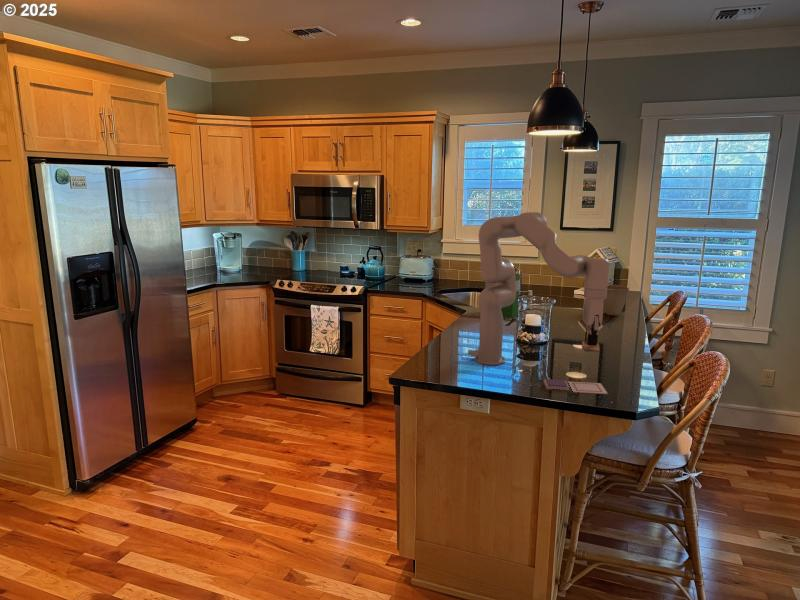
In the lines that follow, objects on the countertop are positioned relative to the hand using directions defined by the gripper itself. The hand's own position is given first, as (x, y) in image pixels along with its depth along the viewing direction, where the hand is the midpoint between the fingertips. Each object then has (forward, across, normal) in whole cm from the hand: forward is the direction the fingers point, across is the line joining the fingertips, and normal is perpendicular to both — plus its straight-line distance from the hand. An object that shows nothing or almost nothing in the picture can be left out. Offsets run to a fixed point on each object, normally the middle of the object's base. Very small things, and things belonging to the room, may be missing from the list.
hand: (590, 343), depth 189 cm
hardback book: (+17, -111, -24) cm, 115 cm away
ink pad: (+17, 0, -11) cm, 20 cm away
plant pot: (+17, -124, +41) cm, 132 cm away
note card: (+17, 0, 0) cm, 17 cm away
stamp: (+3, 0, 0) cm, 3 cm away
